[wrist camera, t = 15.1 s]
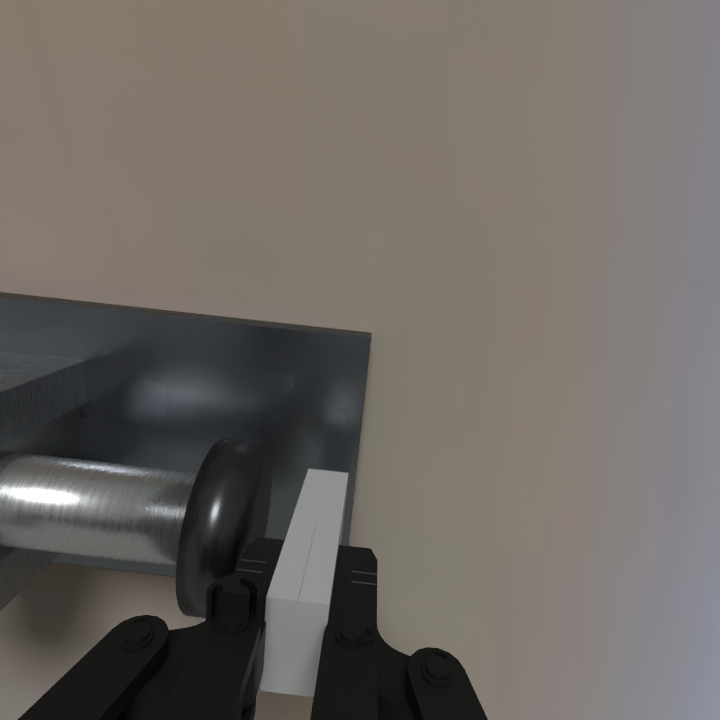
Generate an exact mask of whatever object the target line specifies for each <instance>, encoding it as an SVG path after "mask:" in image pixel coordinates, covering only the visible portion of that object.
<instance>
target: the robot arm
mask: <svg viewBox="0 0 720 720" xmlns="http://www.w3.org/2000/svg"><path fill="white" fill-rule="evenodd" d="M347 482H348V473H344V472H335V471H326V470H317V469H308V472H307V475H306V478H305V481H304V484H303V487H302V490H301V493H300V496H299V499H298V502H297V505H296V508H295V511H294V514H293V517H292V520H291V523H290V526H289V529H288V532H287V535H286V538H285V540H282V539H273V538H264V537H257V538H256V539H255V540H254V541H253V542H251V543H250V544H249V545H248V546H247V547H246V550H245V552H244V554H243V556H242V559H241V561H240V563H239V565H238V567H237V570H236V572H235V574H232V575H228V576H225V577H221V578H220V579H218V580H216V581H215V582H213V583H212V584H211V585H210V587H209V588H208V589H207V597H206V620H205V621H204V622H203V623H200V624H198V625H195V626H192V627H187V628H181V629H175V630H168V627H167V625H166V623H165V621H163V620H162V619H160V618H159V617H157V616H150V615H143V616H135V617H133V618H130V619H128V620H125V621H123V622H121V623H120V624H119V625H117V626H116V627H115V628H113V629H112V630H111V631H110V632H109V633H108V634H107V635H106V636H105V637H104V638H103V639H102V640H101V641H100V642H98V643H97V644H96V645H95V646H94V647H93V648H92V649H91V650H90V651H89V652H88V653H87V654H86V655H85V656H84V657H83V658H82V659H81V660H80V661H79V662H78V663H77V664H75V665H74V666H73V667H72V668H71V669H70V670H69V671H68V672H67V673H66V674H65V675H64V676H63V677H62V678H61V679H60V680H59V681H58V682H57V683H56V684H55V685H54V686H52V687H51V688H50V689H49V690H48V691H47V692H46V693H45V694H44V695H43V696H42V697H41V698H40V699H39V700H38V701H37V702H36V703H35V704H34V705H33V706H32V707H31V708H29V709H28V710H27V711H26V712H25V713H24V714H23V715H22V716H21V717H20V718H19V719H18V720H253V719H254V715H255V707H256V695H257V691H258V687H259V684H260V680H261V687H260V691H266V692H274V693H283V694H291V695H299V696H307V697H314V699H313V706H312V713H311V719H310V720H488V719H487V717H486V715H485V713H484V711H483V708H482V706H481V704H480V702H479V700H478V698H477V695H476V693H475V691H474V689H473V687H472V685H471V682H470V680H469V678H468V676H467V674H466V672H465V669H464V668H463V666H462V665H461V664H460V662H459V661H458V660H457V659H456V658H455V657H454V656H452V655H451V654H450V653H448V652H446V651H444V650H441V649H439V648H429V647H427V648H423V649H420V650H417V651H416V652H415V653H414V654H413V655H411V657H410V656H408V655H406V654H403V653H401V652H399V651H397V650H395V649H393V648H392V647H390V646H389V645H388V644H387V643H385V641H384V640H383V639H382V637H381V636H380V634H379V632H378V630H377V559H376V557H375V555H374V554H373V552H372V550H371V549H369V548H361V547H352V546H343V545H341V540H342V530H343V521H344V511H345V502H346V492H347Z"/></svg>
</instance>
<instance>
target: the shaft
mask: <svg viewBox="0 0 720 720" xmlns="http://www.w3.org/2000/svg"><path fill="white" fill-rule="evenodd" d="M271 488H272V456H271V451H270V447H269V445H268V444H267V443H266V442H259V441H250V440H241V439H233V438H221V439H219V440H218V441H217V442H216V443H215V444H214V445H213V446H212V448H211V449H210V450H209V452H208V454H207V455H206V457H205V459H204V461H203V463H202V465H201V467H200V469H199V472H198V473H192V472H183V471H175V470H166V469H157V468H149V467H140V466H132V465H123V464H115V463H106V462H98V461H89V460H80V459H72V458H63V457H55V456H46V455H38V454H29V453H21V452H12V451H4V450H0V546H6V547H14V548H23V549H31V550H39V551H47V552H56V553H64V554H72V555H80V556H88V557H97V558H105V559H113V560H121V561H130V562H138V563H146V564H154V565H163V566H171V567H176V595H177V601H178V605H179V608H180V610H181V612H182V613H183V614H184V615H186V616H193V617H201V618H206V597H207V589H208V588H209V587H210V585H211V584H212V583H213V582H215V581H216V580H218V579H220V578H221V577H225V576H228V575H232V574H235V572H236V570H237V567H238V565H239V563H240V561H241V559H242V556H243V554H244V552H245V550H246V547H247V546H248V545H249V544H250V543H251V542H253V541H254V540H255V539H256V538H257V537H264V538H265V534H266V528H267V522H268V515H269V508H270V499H271Z"/></svg>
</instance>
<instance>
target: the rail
mask: <svg viewBox="0 0 720 720" xmlns="http://www.w3.org/2000/svg"><path fill="white" fill-rule="evenodd" d="M370 342H371V333H367V332H358V331H349V330H340V329H331V328H321V327H312V326H303V325H294V324H285V323H276V322H267V321H258V320H248V319H239V318H230V317H221V316H212V315H203V314H194V313H185V312H176V311H166V310H157V309H148V308H139V307H130V306H121V305H112V304H103V303H93V302H84V301H75V300H66V299H57V298H48V297H39V296H30V295H21V294H11V293H2V292H0V450H4V451H12V452H21V453H29V454H38V455H46V456H55V457H63V458H72V459H80V460H89V461H98V462H106V463H115V464H123V465H132V466H140V467H149V468H157V469H166V470H175V471H183V472H192V473H198V472H199V469H200V467H201V465H202V463H203V461H204V459H205V457H206V455H207V454H208V452H209V450H210V449H211V448H212V446H213V445H214V444H215V443H216V442H217V441H218V440H219V439H221V438H233V439H241V440H250V441H259V442H266V443H267V444H268V445H269V447H270V451H271V456H272V488H271V499H270V508H269V515H268V522H267V528H266V534H265V538H273V539H282V540H285V538H286V535H287V532H288V529H289V526H290V523H291V520H292V517H293V514H294V511H295V508H296V505H297V502H298V499H299V496H300V493H301V490H302V487H303V484H304V481H305V478H306V475H307V472H308V469H317V470H326V471H335V472H344V473H348V482H347V492H346V502H345V511H344V521H343V530H342V540H341V545H343V546H348V541H349V532H350V523H351V514H352V505H353V496H354V487H355V478H356V469H357V459H358V450H359V441H360V432H361V423H362V414H363V405H364V396H365V387H366V378H367V369H368V360H369V351H370ZM51 562H58V563H66V564H75V565H83V566H91V567H99V568H107V569H116V570H124V571H132V572H140V573H148V574H157V575H165V576H173V577H176V567H171V566H163V565H154V564H146V563H138V562H130V561H121V560H113V559H105V558H97V557H88V556H80V555H72V554H64V553H56V552H47V551H39V550H31V549H23V548H14V547H6V546H0V611H1V610H2V609H3V608H4V607H5V606H6V605H7V604H8V603H9V602H10V601H11V600H12V599H13V598H14V597H16V596H17V595H18V594H19V593H20V592H21V591H22V590H23V589H24V588H25V587H26V586H27V585H28V584H29V583H30V582H31V581H32V580H33V579H35V578H36V577H37V576H38V575H39V574H40V573H41V572H42V571H43V570H44V569H45V568H46V567H47V566H48V565H49V564H50V563H51Z"/></svg>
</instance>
